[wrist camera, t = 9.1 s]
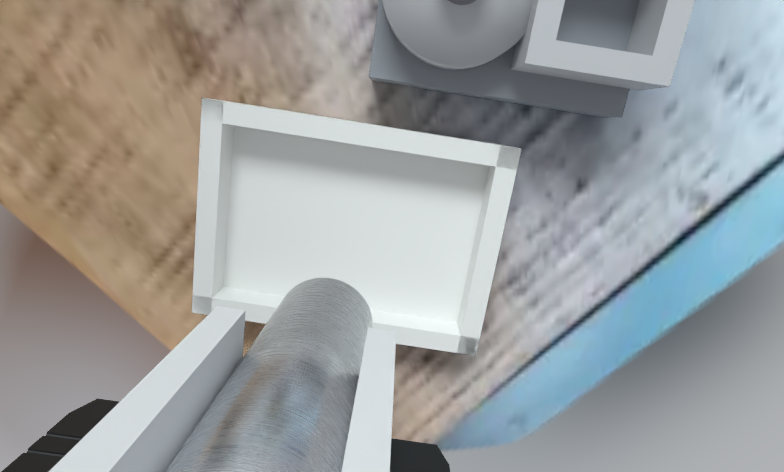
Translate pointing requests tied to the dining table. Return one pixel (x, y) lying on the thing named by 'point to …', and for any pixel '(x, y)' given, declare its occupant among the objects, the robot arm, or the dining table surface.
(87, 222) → the dining table surface
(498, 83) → the tensioner block
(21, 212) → the dining table surface
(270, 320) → the pin
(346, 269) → the tray
